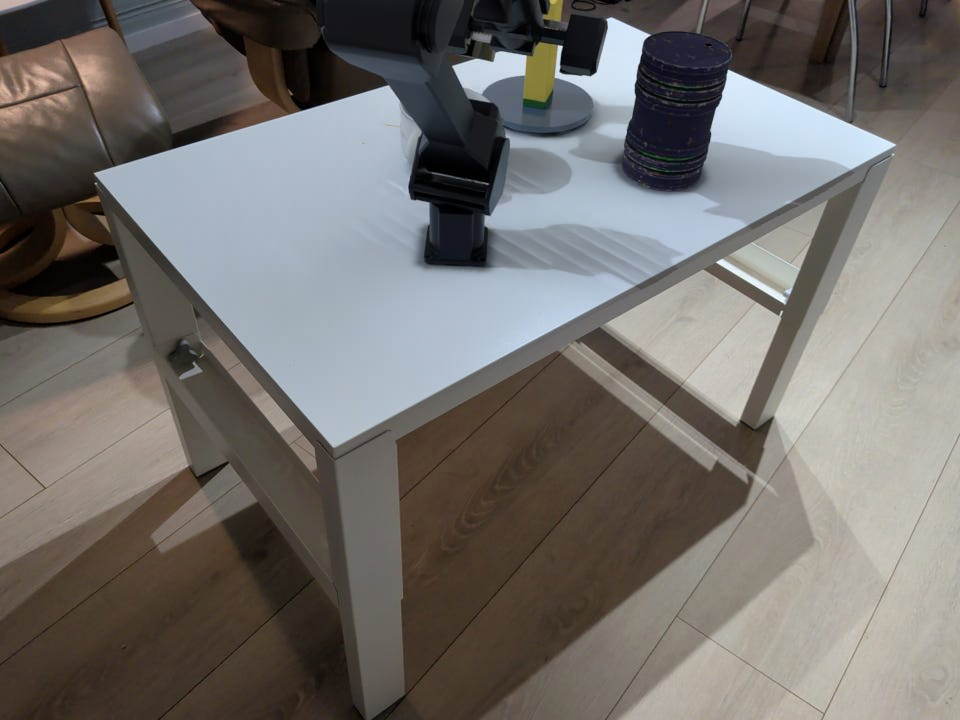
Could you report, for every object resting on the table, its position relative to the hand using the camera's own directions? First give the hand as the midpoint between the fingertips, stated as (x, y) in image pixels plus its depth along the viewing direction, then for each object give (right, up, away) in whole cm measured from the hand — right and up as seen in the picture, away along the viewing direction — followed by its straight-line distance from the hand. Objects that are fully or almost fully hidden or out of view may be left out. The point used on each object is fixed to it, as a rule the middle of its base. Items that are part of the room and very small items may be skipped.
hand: (529, 64), depth 97 cm
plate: (+2, -2, +11) cm, 11 cm away
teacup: (-11, -13, -1) cm, 17 cm away
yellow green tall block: (+2, -1, +10) cm, 10 cm away
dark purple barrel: (+16, -13, +1) cm, 21 cm away
